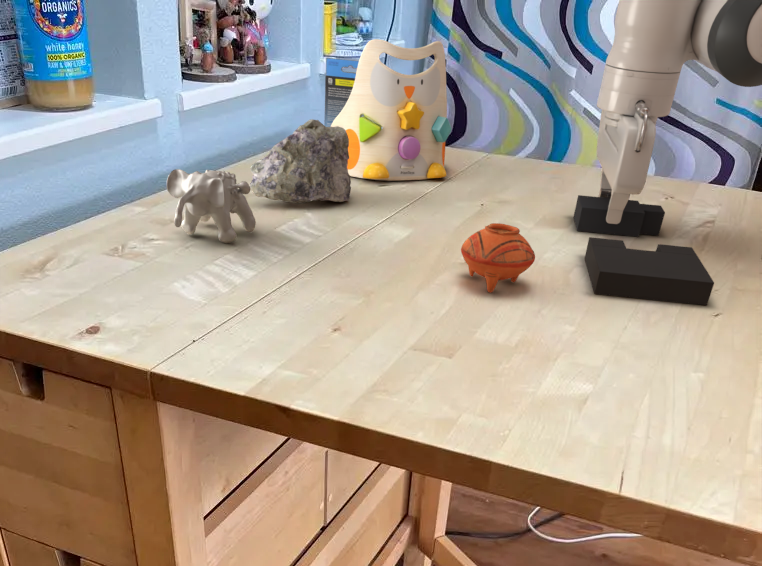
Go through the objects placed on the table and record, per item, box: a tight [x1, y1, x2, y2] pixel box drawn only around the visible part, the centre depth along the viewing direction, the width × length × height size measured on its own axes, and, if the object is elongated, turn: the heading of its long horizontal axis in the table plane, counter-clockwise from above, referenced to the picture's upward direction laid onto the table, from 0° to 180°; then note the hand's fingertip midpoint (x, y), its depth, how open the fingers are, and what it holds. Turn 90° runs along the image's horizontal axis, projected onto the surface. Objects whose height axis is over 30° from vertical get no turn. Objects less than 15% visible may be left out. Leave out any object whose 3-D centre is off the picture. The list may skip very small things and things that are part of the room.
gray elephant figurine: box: [166, 168, 257, 244], centre depth 92 cm, size 9×12×8 cm
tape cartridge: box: [323, 57, 365, 127], centre depth 138 cm, size 9×4×12 cm, turn 74°
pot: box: [460, 222, 536, 294], centre depth 87 cm, size 8×8×7 cm
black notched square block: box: [584, 237, 715, 306], centre depth 91 cm, size 12×12×2 cm
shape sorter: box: [331, 38, 453, 182], centre depth 119 cm, size 20×10×18 cm, turn 111°
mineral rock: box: [249, 118, 352, 204], centre depth 107 cm, size 13×11×10 cm
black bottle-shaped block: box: [572, 194, 666, 238], centre depth 107 cm, size 6×11×3 cm, turn 82°
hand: (607, 212), depth 107 cm, fingers open, 8 cm apart
